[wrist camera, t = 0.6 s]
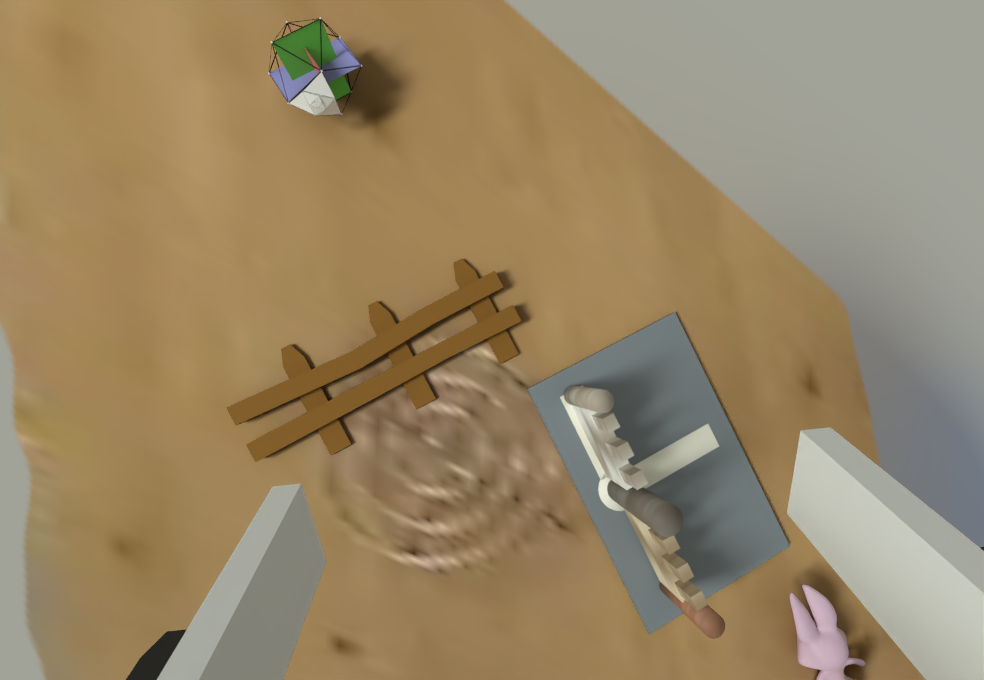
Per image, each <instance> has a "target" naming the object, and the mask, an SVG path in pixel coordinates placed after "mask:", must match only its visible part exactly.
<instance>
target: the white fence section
mask: <svg viewBox="0 0 984 680" xmlns="http://www.w3.org/2000/svg"><path fill="white" fill-rule="evenodd" d="M563 395H564V399H565V401H566V402H567V403H568V404H570V405H571V406H572V408H573V410H574V412H575V414H576V416H577V418H578V420H579V422H580V424H581V426H582V428H583V430H584V432H585V434H586V436H587V438H588V440H589V442H590V444H591V446H592V448H593V450H594V452H595V454H596V456H597V458H598V460H599V462H600V464H601V466H602V468H603V470H604V472H605V474H606V476H607V478H609V479H610V481H609V483H608V486H607V492H608V495H609V497H610V498H611V499H612V500H613V501H615V502H616V503H618V504H619V505H620V506H622V507H623V508H624V509H626V510H627V511H628V512H630V513H631V514H632V515H634V516H635V517H636V518H638V519H639V520H640V521H642V522H643V523H644V524H646V525H647V526H648V527H650V528H651V529H652V530H654V531H655V532H656V533H658V534H659V535H661V536H663V537H671V536H674V535H676V534H677V533H678V532H679V531H680V529H681V528H682V525H683V515H682V513H681V511H680V509H679V508H678V507H677V506H675V505H673V504H672V503H670V502H668V501H666V500H665V499H663V498H661V497H659V496H658V495H656V494H654V493H652V492H651V491H649V490H647V489H646V488H644V486H645V485H647V484H648V482H647V480H646V478H645V476H644V474H643V472H642V470H641V469H639V468H637V467H635V466H633V465H631V464H630V463H629V461H628V459H629V458H631V457H632V456H634V454H633V452H632V450H631V448H630V445H629V443H628V442H627V441H625V440H622V439H620V438H617V437H616V435H615V433H614V430H616V429H618V428H620V425H619V423H618V421H617V419H616V417H615V415H614V413H611V412H609V411H610V410H611V409H612V408H613V406H614V397H613V395H612V394H611V393H610V392H609V391H607V390H603V389H596V388H589V387H583V386H576V385H571V386H568V387H567V388H566V389H565V391H564V394H563Z"/></svg>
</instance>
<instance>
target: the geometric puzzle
mask: <svg viewBox="0 0 984 680" xmlns="http://www.w3.org/2000/svg"><path fill="white" fill-rule="evenodd" d="M312 20H315V19H312ZM321 20H322V18H321V17H320V18H319V19H318V20H316V21H314V22H312V23H310V24H308V25H306V26H304V27H302V26H299V27H302V28H300V29H298V30H296V31H294V32H293V30H292V29H291V27H290V26H289V24H291V22H286V26H287V25H288V27H289V29H290V31H291V33H290V34H288V35H286V36H284V37H283V35H282V38H280V39H277V40H275V41H274V40H273V41H271V43H272V45H271V48H272V46H274V47H273V49H274V48H275V49H276V54H277V53H278V55H279V57H280V59H281V60H282V62H283V64H284V66H282V67H280V68H279V65H278V69H276V70H274V71H272V72H270V71H269V72H268V74H270V76H271V77H272V79H273V80H274V82H275V83H276V85H277V86H278V88H279V90H280V91H281V93H282V94H283V96H284V97H285V99H286V100H287V102H288V104H291V105H293V106H295V107H298V108H300V109H302V110H304V111H306V112H308V113H309V114H313V115H315V116H322V115H338V114H341V115H343V113H341V111H340V109H339V106H338V104H337V101H336V100H337V99H339V98H341V97H343V96H345V95H347V94H349V93H350V94H351V93H352V90H351V87H350V82H349V77H348V72H350V71H352V70H354V69H356V68H358V67H360V66H361V67H362V65H361V64H360V63H359V61H358V60H357V59H356V58H355V56H354V55H353V54H352V52H351V51H350V50H349V48H348V47H347V46H346V44H345V43H344V42H343V41H342V39H341V37H339V38H337V37H338V35H337V34H336V33H335V32H334V31H333V30H332V29H331V28H330V27H329V26H328V25H327V24H326V23H325V22H324V21H323V20H322V21H321ZM304 21H307V20H304ZM296 22H299V21H296ZM322 22H323V23H324V24H325V25H326V26H327V27H329V28H330V29H331V30H332V31H333V32H334V33H335V34H336V35H337V36H335V37H336V38H337V39H336V40H334V41H332V42H330V40H329V38H328V35H331V34H328V35H327V33H326V30H325V28H324V26H323V23H322ZM288 23H289V24H288ZM292 25H295V24H292ZM296 26H298V25H296ZM283 28H284V27H283ZM283 28H282V29H283ZM285 29H286V27H285ZM285 29H284V32H285ZM330 29H329V30H330ZM331 30H330V31H331ZM332 31H331V32H332ZM280 32H281V31H280ZM280 32H279V33H280ZM284 32H283V34H284ZM333 32H332V33H333ZM334 33H333V34H334ZM335 34H334V35H335ZM334 35H332V36H334ZM277 36H278V35H277ZM277 36H276V37H277ZM274 53H275V51H274ZM276 54H275V57H276ZM275 57H274V59H275ZM270 58H271V56H270ZM276 60H277V58H276ZM273 62H274V60H273ZM277 64H278V62H277ZM272 65H273V63H272ZM272 65H271V68H272ZM361 67H360V69H361ZM269 68H270V66H269ZM271 68H270V70H271ZM359 71H360V70H359ZM346 73H347V77H348V82H349V85H348V83H347V81H346V78H345V76H344V74H346ZM358 74H359V72H358ZM357 76H358V75H357ZM356 79H357V78H356ZM355 81H356V80H355ZM354 84H355V82H354ZM353 86H354V85H353ZM349 87H350V88H349ZM352 89H353V87H352ZM349 96H350V95H349ZM348 98H349V97H348ZM347 101H348V99H347ZM346 103H347V102H346ZM345 105H346V104H345ZM344 108H345V107H344ZM343 110H344V109H343ZM342 112H343V111H342Z"/></svg>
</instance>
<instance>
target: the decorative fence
mask: <svg viewBox="0 0 984 680" xmlns="http://www.w3.org/2000/svg"><path fill="white" fill-rule="evenodd" d="M454 270H455V278H456V282H457V284H458V285H459V287H460V289H459V290H457V291H455V292H453V293H451V294H449V295H447V296H445V297H444V298H442V299H440V300H438V301H436V302H434V303H432V304H430V305H428V306H426V307H424V308H422V309H421V310H419V311H417V312H416V313H414V314H412V315H411V316H409V317H408V318H406V319H404V320H403V321H401V322H399V323H398V324H396V323H395V321H394V319H393V317H392V315H391V313H390V312H388V311H387V310H386V309H385V308H384V307H383V306H382V305H381V304H379V303H378V302H377V301H376V302H374V303H372V304H370V305H368V306H369V314H370V322H371V325H372V327H373V328H374V330H375V332H376V334H377V336H376V337H375V338H373V339H371V340H370V341H368V342H366V343H365V344H363V345H361V346H360V347H358V348H356V349H355V350H353V351H351V352H349V353H347V354H345V355H343V356H340V357H338V358H336V359H334V360H332V361H329V362H327V363H325V364H323V365H320V366H318V367H316V368H314V369H312V368H311V366H310V365H309V363H308V361H307V359H306V357H305V356H304V355H303V354H302V353H300V352H299V351H298V350H297V349H296V348H295V347H293V346H292V345H288V346H286V347H284V348H282V349H281V351H282V359H283V367H284V369H285V371H286V373H287V375H288V377H289V378H290V379H289V380H287V381H285V382H283V383H280V384H278V385H276V386H274V387H271V388H269V389H267V390H265V391H262V392H260V393H258V394H256V395H254V396H251V397H249V398H247V399H245V400H242V401H240V402H238V403H236V404H234V405H231V406H229V407H227V410H228V412H229V414H230V416H231V417H232V419H233V421H234V423H235V425H238V424H241V423H243V422H245V421H248V420H250V419H252V418H254V417H256V416H258V415H261V414H263V413H265V412H267V411H269V410H272V409H274V408H276V407H278V406H280V405H283V404H285V403H287V402H289V401H291V400H294V399H296V398H298V397H300V399H301V401H302V403H303V404H304V406H305V408H306V410H307V413H305V414H303V415H301V416H299V417H298V418H296V419H294V420H292V421H290V422H288V423H286V424H284V425H283V426H281V427H279V428H277V429H275V430H273V431H271V432H269V433H267V434H266V435H264V436H262V437H260V438H258V439H256V440H254V441H252V442H250V443H249V444H247V447H248V449H249V451H250V453H251V454H252V456H253V458H254V460H255V462H257V461H259V460H261V459H262V458H264V457H266V456H268V455H270V454H272V453H274V452H276V451H277V450H279V449H281V448H283V447H285V446H287V445H289V444H290V443H292V442H294V441H296V440H298V439H300V438H302V437H303V436H305V435H307V434H309V433H311V432H313V431H315V430H316V429H317V430H318V432H319V434H320V436H321V438H322V440H323V442H324V443H325V445H326V447H327V449H328V451H329V453H330V455H333V454H334V453H336V452H338V451H340V450H342V449H344V448H346V447H347V446H349V445H351V444H352V443H351V441H350V439H349V437H348V435H347V434H346V432H345V430H344V428H343V426H342V424H341V422H340V421H339V419H338V418H339V417H341V416H343V415H344V414H346V413H348V412H350V411H352V410H354V409H356V408H357V407H359V406H361V405H363V404H365V403H367V402H369V401H370V400H372V399H374V398H376V397H378V396H380V395H382V394H383V393H385V392H387V391H389V390H391V389H392V388H394V387H396V386H398V385H400V384H402V383H403V385H404V387H405V388H406V390H407V392H408V394H409V396H410V398H411V400H412V402H413V403H414V405H415V407H416V409H418V408H419V407H421V406H423V405H425V404H427V403H429V402H431V401H432V400H434V399H436V398H435V396H434V394H433V392H432V390H431V389H430V387H429V385H428V383H427V381H426V379H425V377H424V375H423V374H422V372H423V371H425V370H427V369H429V368H431V367H432V366H434V365H436V364H438V363H440V362H442V361H443V360H445V359H447V358H449V357H451V356H453V355H455V354H457V353H459V352H461V351H463V350H465V349H467V348H469V347H471V346H473V345H475V344H477V343H479V342H481V341H483V340H485V339H487V340H488V342H489V344H490V346H491V348H492V350H493V352H494V353H495V355H496V357H497V359H498V361H499V363H500V364H501V363H503V362H504V361H506V360H508V359H510V358H512V357H514V356H516V355H517V354H519V353H518V352H517V350H516V348H515V346H514V344H513V342H512V340H511V338H510V336H509V335H508V333H507V331H506V329H507V328H509V327H511V326H513V325H515V324H517V323H519V322H521V319H520V317H519V316H518V314H517V312H516V310H515V308H514V306H513V305H512V306H510V307H508V308H506V309H504V310H502V311H500V312H498V313H497V312H496V310H495V308H494V306H493V304H492V302H491V300H490V299H489V297H488V296H489V295H491V294H493V293H495V292H497V291H498V290H500V289H502V288H503V285H502V283H501V281H500V279H499V278H498V276H497V274H496V272H495V271H494V272H492V273H490V274H488V275H486V276H484V277H482V278H480V279H479V278H478V276H477V274H476V272H475V270H474V269H473V268H471V267H470V266H469V265H468V264H467V263H466V262H465V261H464V260H463V259H460V260H458V261H456V262H454ZM468 306H470V308H471V310H472V312H473V314H474V316H475V318H476V319H477V321H478V323H477V324H475V325H473V326H471V327H469V328H468V329H466V330H464V331H462V332H460V333H458V334H456V335H454V336H452V337H450V338H448V339H446V340H444V341H442V342H440V343H439V344H437V345H435V346H433V347H431V348H429V349H427V350H425V351H423V352H421V353H419V354H417V355H416V356H414V357H413V355H412V353H411V351H410V349H409V347H408V345H407V343H406V341H407V340H409V339H411V338H412V337H414V336H416V335H417V334H419V333H420V332H422V331H424V330H425V329H427V328H429V327H430V326H432V325H434V324H436V323H437V322H439V321H441V320H443V319H445V318H447V317H449V316H451V315H453V314H455V313H457V312H458V311H460V310H462V309H464V308H466V307H468ZM386 353H387V355H388V357H389V358H390V360H391V362H392V364H393V366H394V367H392V368H391V369H389V370H387V371H385V372H383V373H381V374H379V375H377V376H375V377H373V378H371V379H369V380H367V381H366V382H364V383H362V384H360V385H358V386H356V387H354V388H352V389H350V390H349V391H347V392H345V393H343V394H341V395H339V396H337V397H335V398H333V399H332V400H330V401H329V400H328V398H327V396H326V394H325V393H324V391H323V389H322V386H324V385H326V384H329V383H331V382H333V381H335V380H337V379H340V378H342V377H344V376H346V375H348V374H351V373H353V372H355V371H357V370H359V369H361V368H363V367H365V366H367V365H368V364H370V363H372V362H373V361H375V360H376V359H378V358H380V357H381V356H383V355H385V354H386Z"/></svg>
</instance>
